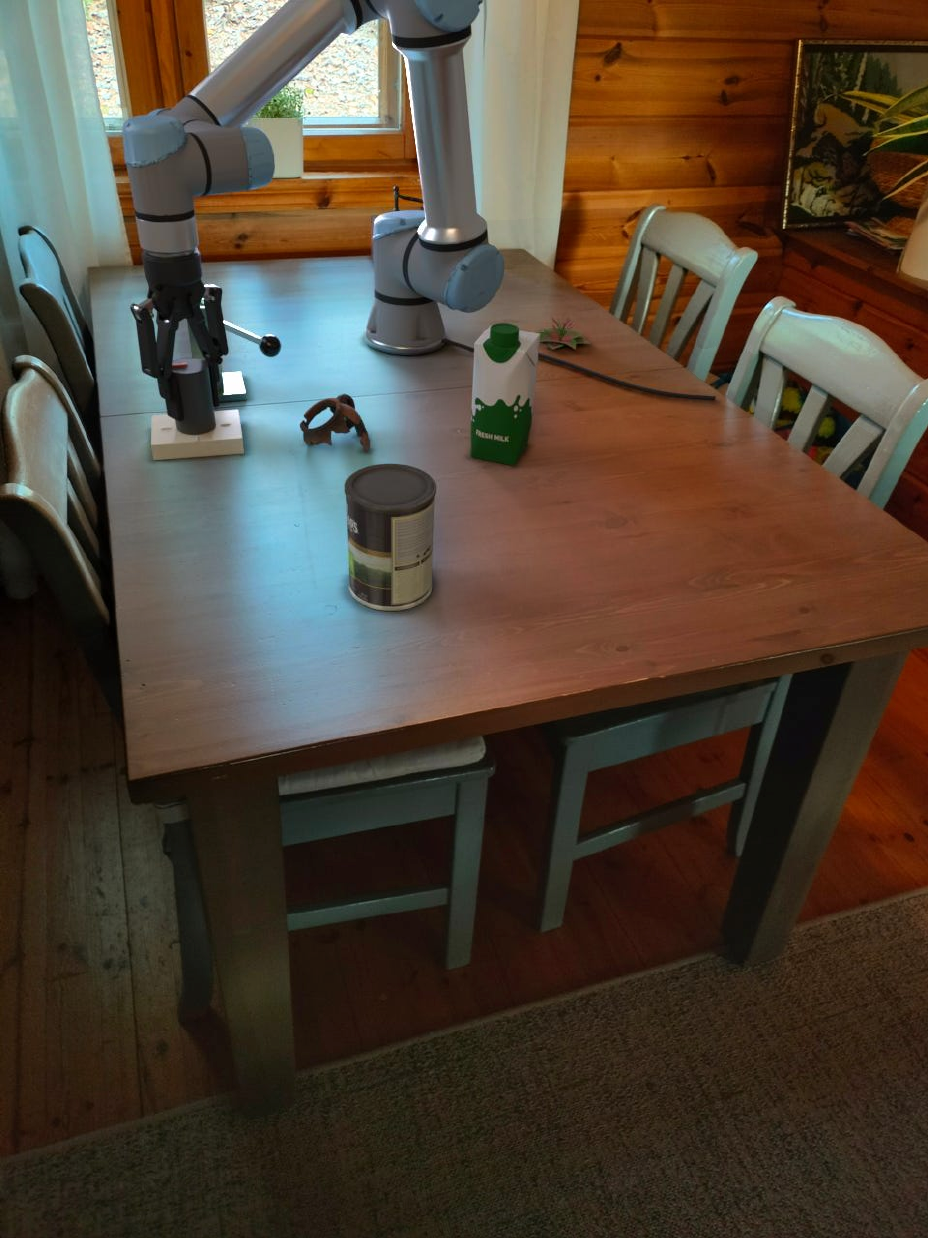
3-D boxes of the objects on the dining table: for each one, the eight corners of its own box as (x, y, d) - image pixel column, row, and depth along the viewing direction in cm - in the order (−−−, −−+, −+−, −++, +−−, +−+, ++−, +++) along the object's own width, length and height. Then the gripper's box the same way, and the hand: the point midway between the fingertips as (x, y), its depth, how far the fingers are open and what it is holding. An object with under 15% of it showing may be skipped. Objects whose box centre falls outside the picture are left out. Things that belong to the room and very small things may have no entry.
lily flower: (602, 348, 176) (605, 325, 173) (548, 356, 171) (551, 332, 169) (569, 327, 184) (572, 304, 181) (518, 334, 180) (519, 311, 177)
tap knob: (213, 415, 140) (205, 354, 134) (218, 432, 135) (210, 369, 129) (174, 419, 138) (164, 357, 132) (178, 436, 134) (167, 373, 128)
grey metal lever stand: (241, 378, 157) (231, 291, 148) (246, 399, 151) (237, 310, 142) (175, 382, 155) (161, 295, 146) (177, 405, 148) (163, 314, 139)
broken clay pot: (370, 464, 136) (341, 424, 130) (317, 481, 140) (287, 443, 134) (381, 411, 143) (354, 371, 138) (331, 429, 147) (302, 390, 141)
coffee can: (347, 613, 106) (343, 508, 98) (349, 563, 114) (345, 462, 106) (435, 611, 107) (439, 508, 99) (431, 562, 115) (433, 462, 107)
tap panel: (240, 424, 144) (238, 408, 142) (244, 453, 136) (242, 437, 134) (154, 430, 141) (151, 414, 139) (153, 460, 133) (150, 443, 131)
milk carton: (463, 458, 138) (469, 328, 125) (481, 434, 144) (489, 308, 132) (518, 470, 136) (530, 338, 123) (534, 444, 142) (547, 317, 130)
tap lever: (274, 355, 154) (283, 336, 152) (277, 363, 151) (286, 344, 150) (187, 316, 146) (195, 296, 145) (188, 324, 143) (197, 303, 142)
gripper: (210, 230, 129) (228, 385, 143) (90, 256, 117) (123, 422, 131) (244, 241, 125) (260, 399, 139) (124, 270, 113) (155, 439, 128)
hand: (194, 410), depth 135 cm, fingers closed on tap knob, 6 cm apart
